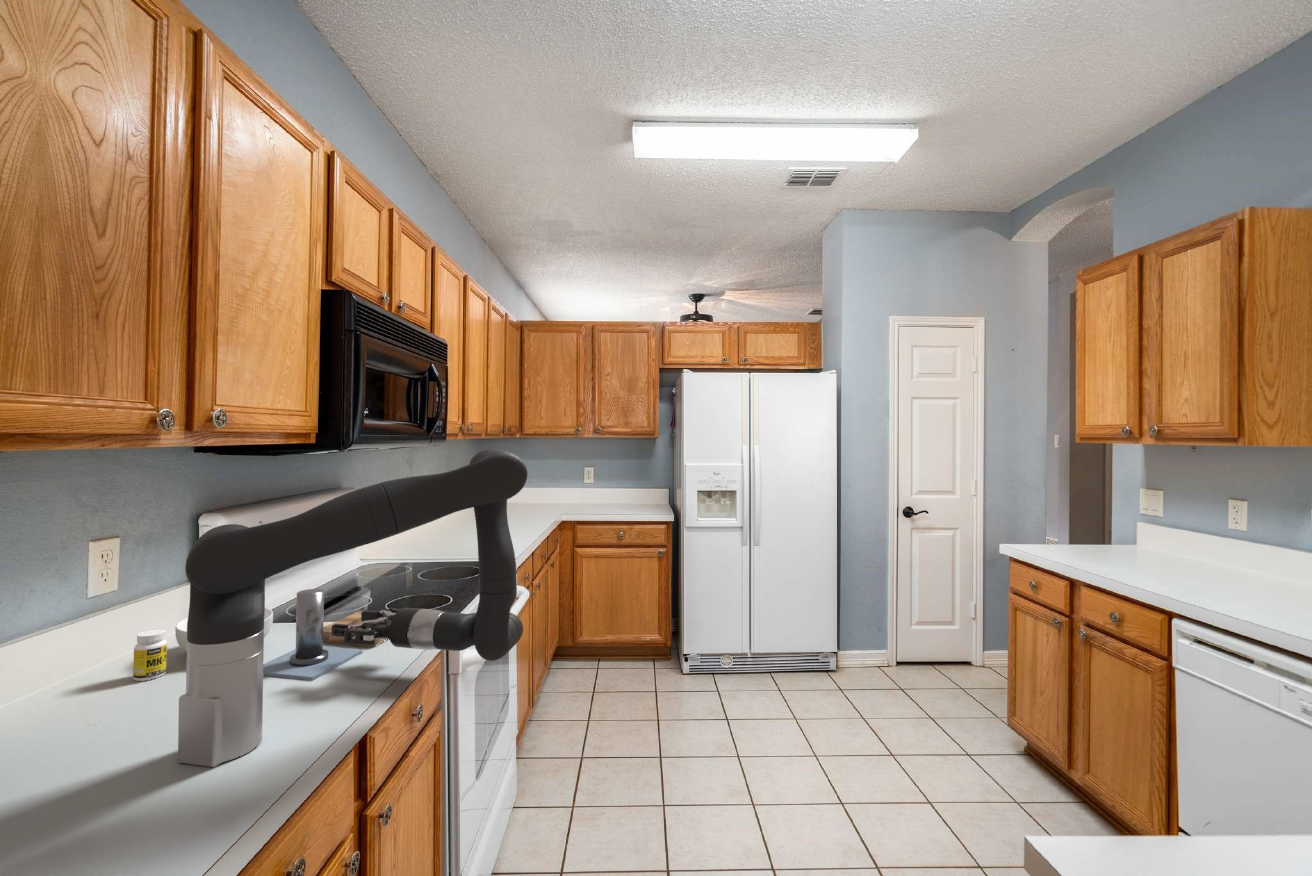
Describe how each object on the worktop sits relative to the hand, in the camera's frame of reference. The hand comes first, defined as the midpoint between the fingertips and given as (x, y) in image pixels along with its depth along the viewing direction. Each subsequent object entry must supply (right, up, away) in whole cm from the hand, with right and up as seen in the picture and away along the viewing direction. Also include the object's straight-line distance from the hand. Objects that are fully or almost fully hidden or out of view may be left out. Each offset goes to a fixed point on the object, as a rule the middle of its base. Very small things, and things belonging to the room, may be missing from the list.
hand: (348, 622), depth 115 cm
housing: (-6, -9, +19) cm, 22 cm away
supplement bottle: (-35, -9, -6) cm, 36 cm away
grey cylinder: (-9, -8, +2) cm, 12 cm away
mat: (-9, -9, +2) cm, 13 cm away
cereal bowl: (-30, -9, +7) cm, 32 cm away
